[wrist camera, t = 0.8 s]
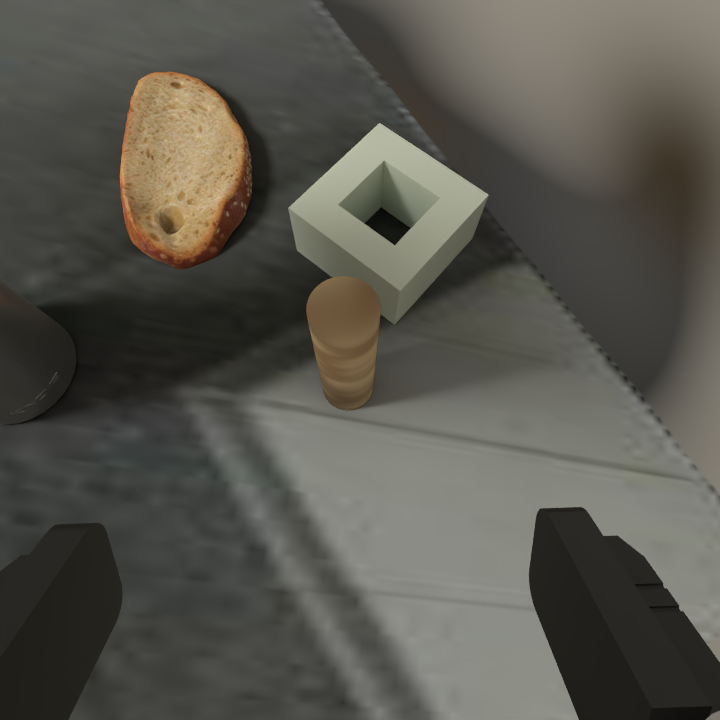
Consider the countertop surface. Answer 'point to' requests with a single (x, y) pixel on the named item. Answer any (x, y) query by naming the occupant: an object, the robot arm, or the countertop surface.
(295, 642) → the countertop surface
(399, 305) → the holder
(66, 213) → the countertop surface
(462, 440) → the countertop surface
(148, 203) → the slice of bread
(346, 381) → the dowel
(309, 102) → the countertop surface
